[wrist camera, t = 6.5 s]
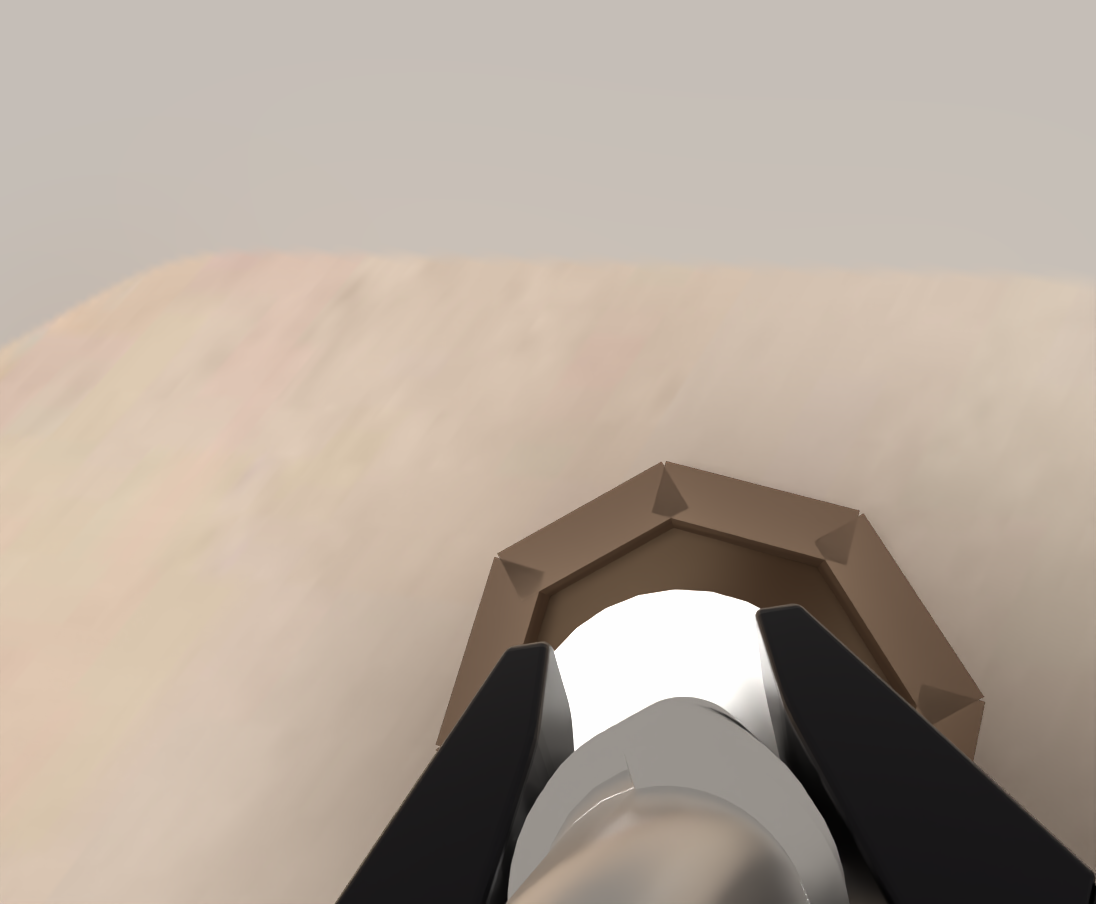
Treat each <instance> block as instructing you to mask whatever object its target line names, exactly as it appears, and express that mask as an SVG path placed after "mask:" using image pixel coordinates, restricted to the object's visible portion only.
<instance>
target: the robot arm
mask: <svg viewBox="0 0 1096 904" xmlns="http://www.w3.org/2000/svg"><path fill="white" fill-rule="evenodd" d="M754 617H755V628H756V635H757V642H758V650H759V657H760V664H761V671H762V678H763V684H764V689H765V694H766V699H767V704H768V708H769V713H770V717H771V722H772V726H773V731H774V735H775V740H776V744H777V749H778V753H779V758H780V760H781V761H782V762H783V763H784V764H785V765H786V766H787V767H788V768H789V769H790V771H791V772H792V773H793V774H794V776H795V777H796V778H797V779H798V780H799V782H800V783H801V784H802V786H803V787H804V789H805V791H806V792H807V794H808V796H809V797H810V798H811V800H812V801H813V803H814V804H815V806H816V808H817V809H818V811H819V812H820V814H821V815H822V817H823V819H824V820H825V822H826V825H827V827H828V829H829V831H830V833H831V835H832V838H833V840H834V842H835V844H836V847H837V851H838V854H839V857H840V861H841V864H842V867H843V871H844V877H845V884H846V889H847V893H848V898H849V903H850V904H1096V874H1095V873H1094V871H1093V870H1091V869H1090V868H1089V867H1088V866H1087V865H1086V864H1085V863H1084V862H1083V861H1082V860H1080V859H1079V858H1078V857H1077V856H1076V855H1075V854H1074V853H1073V852H1072V851H1071V850H1070V849H1068V848H1067V847H1066V846H1065V845H1064V844H1063V843H1062V842H1061V841H1060V840H1059V839H1057V838H1056V837H1055V836H1054V835H1053V834H1052V833H1051V832H1050V831H1049V830H1048V829H1046V828H1045V827H1044V826H1043V825H1042V824H1041V823H1040V822H1039V821H1038V820H1037V819H1035V818H1034V817H1033V816H1032V815H1031V814H1030V813H1029V812H1028V811H1027V810H1026V809H1024V808H1023V807H1022V806H1021V805H1020V804H1019V803H1018V802H1017V801H1016V800H1015V799H1014V798H1012V797H1011V796H1010V795H1009V794H1008V793H1007V792H1006V791H1005V790H1004V789H1003V788H1001V787H1000V786H999V785H998V784H997V783H996V782H995V781H994V780H993V779H992V778H990V777H989V776H988V775H987V774H986V773H985V772H984V771H983V770H982V769H981V768H979V767H978V766H977V765H976V764H975V763H974V762H973V761H972V760H971V759H970V758H968V757H967V756H966V755H965V754H964V753H963V752H962V751H961V750H960V749H959V748H958V747H956V746H955V745H954V744H953V743H952V742H951V741H950V740H949V739H948V738H947V737H945V736H944V735H943V734H942V733H941V732H940V731H939V730H938V729H937V728H936V727H934V726H933V725H932V724H931V723H930V722H929V721H928V720H927V719H926V718H925V717H923V716H922V715H921V714H920V713H919V712H918V711H917V710H916V709H915V708H914V707H912V706H911V705H910V704H909V703H908V702H907V701H906V700H905V699H904V698H903V697H902V696H900V695H899V694H898V693H897V692H896V691H895V690H894V689H893V688H892V687H891V686H889V685H888V684H887V683H886V682H885V681H884V680H883V679H882V678H881V677H880V676H878V675H877V674H876V673H875V672H874V671H873V670H872V669H871V668H870V667H869V666H867V665H866V664H865V663H864V662H863V661H862V660H861V659H860V658H859V657H858V656H856V655H855V654H854V653H853V652H852V651H851V650H850V649H849V648H848V647H847V646H846V645H844V644H843V643H842V642H841V641H840V640H839V639H838V638H837V637H836V636H835V635H833V634H832V633H831V632H830V631H829V630H828V629H827V628H826V627H825V626H824V625H822V624H821V623H820V622H819V621H818V620H817V619H816V618H815V617H814V616H813V615H811V614H810V613H809V612H808V611H807V610H806V609H805V608H804V607H802V606H801V605H798V604H787V605H780V606H774V607H767V608H761V609H759V610H757V611H756V613H755V616H754ZM574 751H575V750H574V735H573V723H572V715H571V710H570V705H569V701H568V697H567V694H566V690H565V687H564V684H563V680H562V677H561V673H560V670H559V666H558V663H557V660H556V656H555V653H554V650H553V648H552V646H551V645H550V644H549V643H547V642H535V643H529V644H522V645H516V646H512V647H509V648H508V649H507V650H505V652H504V653H503V654H502V656H501V657H500V659H499V660H498V662H497V663H496V665H495V666H494V668H493V669H492V671H491V672H490V674H489V675H488V677H487V678H486V679H485V681H484V682H483V684H482V685H481V687H480V688H479V690H478V691H477V693H476V694H475V696H474V697H473V699H472V700H471V702H470V703H469V705H468V706H467V708H466V709H465V711H464V712H463V714H462V715H461V717H460V718H459V720H458V721H457V723H456V724H455V726H454V727H453V729H452V730H451V732H450V733H449V735H448V736H447V738H446V739H445V740H444V742H443V743H442V745H441V746H440V748H439V749H438V751H437V752H436V754H435V755H434V757H433V758H432V760H431V761H430V763H429V764H428V766H427V767H426V769H425V770H424V772H423V773H422V775H421V776H420V778H419V779H418V781H417V782H416V784H415V785H414V787H413V788H412V790H411V791H410V793H409V794H408V796H407V797H406V799H405V800H404V801H403V803H402V804H401V806H400V807H399V809H398V810H397V812H396V813H395V815H394V816H393V818H392V819H391V821H390V822H389V824H388V825H387V827H386V828H385V830H384V831H383V833H382V834H381V836H380V837H379V839H378V840H377V842H376V843H375V845H374V846H373V848H372V849H371V851H370V852H369V854H368V855H367V857H366V858H365V859H364V861H363V862H362V864H361V865H360V867H359V868H358V870H357V871H356V873H355V874H354V876H353V877H352V879H351V880H350V882H349V883H348V885H347V886H346V888H345V889H344V891H343V892H342V894H341V895H340V897H339V898H338V900H337V901H336V903H335V904H506V902H507V901H508V886H509V877H510V869H511V863H512V859H513V855H514V851H515V847H516V844H517V840H518V837H519V835H520V832H521V830H522V827H523V825H524V822H525V820H526V818H527V815H528V814H529V812H530V810H531V808H532V807H533V805H534V803H535V802H536V800H537V798H538V796H539V795H540V793H541V792H542V791H543V789H544V788H545V786H546V784H547V782H548V781H549V780H550V778H551V777H552V776H553V774H554V773H555V772H556V770H557V769H558V768H559V766H560V765H561V764H562V763H563V762H564V761H565V760H566V759H567V758H568V757H569V756H570V755H571V754H572V753H573V752H574Z"/></svg>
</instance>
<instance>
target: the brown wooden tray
mask: <svg viewBox="0 0 1096 904" xmlns="http://www.w3.org/2000/svg"><path fill="white" fill-rule="evenodd" d="M858 515H859V510H855V509H851V508H847V507H843V506H839V505H835V504H831V503H828V502H824V501H820V500H816V499H812V498H808V497H804V496H800V495H796V494H792V493H789V492H785V491H781V490H777V489H773V488H769V487H765V486H761V485H757V484H753V483H749V482H746V481H742V480H738V479H734V478H730V477H726V476H722V475H718V474H714V473H710V472H707V471H703V470H699V469H695V468H691V467H687V466H683V465H679V464H675V463H671V462H667V461H666V463H665V467H664V465H663V463H662V462H660V463H658V464H657V465H655V466H653V467H651V468H649V469H648V470H646V471H644V472H642V473H640V474H639V475H637V476H635V477H633V478H632V479H630V480H628V481H626V482H624V483H623V484H621V485H619V486H617V487H615V488H614V489H612V490H610V491H608V492H607V493H605V494H603V495H601V496H599V497H598V498H596V499H594V500H592V501H590V502H589V503H587V504H585V505H583V506H582V507H580V508H578V509H576V510H574V511H573V512H571V513H569V514H567V515H565V516H564V517H562V518H560V519H558V520H556V521H555V522H553V523H551V524H549V525H548V526H546V527H544V528H542V529H540V530H539V531H537V532H535V533H533V534H531V535H530V536H528V537H526V538H524V539H523V540H521V541H519V542H517V543H515V544H514V545H512V546H510V547H508V548H506V549H505V550H503V551H501V552H499V553H497V554H498V556H499V558H500V559H499V558H496V557H494V561H493V564H492V567H491V570H490V573H489V576H488V580H487V583H486V586H485V589H484V592H483V596H482V599H481V602H480V605H479V608H478V612H477V615H476V618H475V621H474V624H473V627H472V631H471V634H470V637H469V640H468V643H467V647H466V650H465V653H464V656H463V659H462V663H461V666H460V669H459V672H458V675H457V679H456V682H455V685H454V688H453V691H452V694H451V698H450V701H449V704H448V707H447V710H446V714H445V717H444V720H443V723H442V726H441V730H440V733H439V736H438V739H437V742H436V745H438V746H441V745H442V743H443V742H444V740H445V739H446V738H447V736H448V735H449V733H450V732H451V730H452V729H453V727H454V726H455V724H456V723H457V721H458V720H459V718H460V717H461V715H462V714H463V712H464V711H465V709H466V708H467V706H468V705H469V703H470V702H471V700H472V699H473V697H474V696H475V694H476V693H477V691H478V690H479V688H480V687H481V685H482V684H483V682H484V681H485V679H486V678H487V677H488V675H489V674H490V672H491V671H492V669H493V668H494V666H495V665H496V663H497V662H498V660H499V659H500V657H501V656H502V654H503V653H504V652H505V650H507V649H508V648H509V647H512V646H516V645H522V644H529V643H535V642H547V643H549V644H550V645H551V646H552V648H553V650H554V652H555V651H556V650H557V649H558V648H559V646H560V645H561V644H562V643H563V642H564V641H565V640H566V639H567V638H568V637H569V636H570V635H571V634H572V633H573V632H574V631H575V630H576V629H577V628H578V627H580V626H581V625H582V624H584V623H585V622H587V621H588V620H590V619H591V618H593V617H594V616H596V615H597V614H599V613H600V612H602V611H603V610H605V609H606V608H609V607H611V606H614V605H616V604H619V603H621V602H624V601H626V600H629V599H631V598H634V597H636V596H639V595H645V594H651V593H658V592H664V591H670V590H687V591H704V592H713V593H717V594H720V595H724V596H727V597H731V598H735V599H738V600H742V601H745V602H748V603H750V604H752V605H754V606H756V607H758V608H760V609H761V608H767V607H774V606H780V605H787V604H798V605H801V606H802V607H804V608H805V609H806V610H807V611H808V612H809V613H810V614H811V615H813V616H814V617H815V618H816V619H817V620H818V621H819V622H820V623H821V624H822V625H824V626H825V627H826V628H827V629H828V630H829V631H830V632H831V633H832V634H833V635H835V636H836V637H837V638H838V639H839V640H840V641H841V642H842V643H843V644H844V645H846V646H847V647H848V648H849V649H850V650H851V651H852V652H853V653H854V654H855V655H856V656H858V657H859V658H860V659H861V660H862V661H863V662H864V663H865V664H866V665H867V666H869V667H870V668H871V669H872V670H873V671H874V672H875V673H876V674H877V675H878V676H880V677H881V678H882V679H883V680H884V681H885V682H886V683H887V684H888V685H889V686H891V687H892V688H893V689H894V690H895V691H896V692H897V693H898V694H899V695H900V696H902V697H903V698H904V699H905V700H906V701H907V702H908V703H909V704H910V705H911V706H912V707H914V708H915V709H916V710H917V711H918V712H919V713H920V714H921V715H922V716H923V717H925V718H926V719H927V720H928V721H929V722H930V723H931V724H932V725H933V726H934V727H936V728H937V729H938V730H939V731H940V732H941V733H942V734H943V735H944V736H945V737H947V738H948V739H949V740H950V741H951V742H952V743H953V744H954V745H955V746H956V747H958V748H959V749H960V750H961V751H962V752H963V753H964V754H965V755H966V756H967V757H968V758H970V759H971V760H972V761H973V759H974V754H975V749H976V744H977V739H978V734H979V729H980V724H981V720H982V715H983V710H984V705H985V702H983V701H980V700H979V699H981V698H983V697H984V696H983V695H982V693H981V692H980V690H979V689H978V687H977V685H976V684H975V682H974V681H973V679H972V678H971V676H970V675H969V673H968V672H967V670H966V669H965V667H964V666H963V664H962V663H961V661H960V660H959V658H958V657H957V655H956V653H955V652H954V650H953V649H952V647H951V646H950V644H949V643H948V641H947V640H946V638H945V637H944V635H943V634H942V632H941V631H940V629H939V628H938V626H937V625H936V623H935V622H934V620H933V618H932V617H931V615H930V614H929V612H928V611H927V609H926V608H925V606H924V605H923V603H922V602H921V600H920V599H919V597H918V596H917V594H916V593H915V591H914V590H913V588H912V587H911V585H910V583H909V582H908V580H907V579H906V577H905V576H904V574H903V573H902V571H901V570H900V568H899V567H898V565H897V564H896V562H895V561H894V559H893V558H892V556H891V555H890V553H889V551H888V550H887V548H886V547H885V545H884V544H883V542H882V541H881V539H880V538H879V536H878V535H877V533H876V532H875V530H874V529H873V527H872V526H871V524H870V523H869V521H868V520H867V518H866V516H865V515H864V514H862V515H860V516H858ZM438 749H439V748H438ZM438 749H436V750H437V751H438Z"/></svg>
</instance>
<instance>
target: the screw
mask: <svg viewBox="0 0 1096 904" xmlns="http://www.w3.org/2000/svg"><path fill="white" fill-rule="evenodd" d="M759 609H760V608H758V607H756V606H754V605H752V604H750V603H748V602H745V601H742V600H738V599H735V598H731V597H727V596H724V595H720V594H717V593H713V592H704V591H687V590H670V591H664V592H658V593H651V594H645V595H639V596H636V597H634V598H631V599H629V600H626V601H624V602H621V603H619V604H616V605H614V606H611V607H609V608H606V609H605V610H603V611H602V612H600V613H599V614H597V615H596V616H594V617H593V618H591V619H590V620H588V621H587V622H585V623H584V624H582V625H581V626H580V627H578V628H577V629H576V630H575V631H574V632H573V633H572V634H571V635H570V636H569V637H568V638H567V639H566V640H565V641H564V642H563V643H562V644H561V645H560V646H559V648H558V649H557V650H556V651H555V652H554V653H555V656H556V660H557V663H558V666H559V670H560V673H561V677H562V680H563V684H564V687H565V690H566V694H567V697H568V701H569V705H570V710H571V715H572V723H573V735H574V750H575V751H574V752H573V753H572V754H571V755H570V756H569V757H568V758H567V759H566V760H565V761H564V762H563V763H562V764H561V765H560V766H559V768H558V769H557V770H556V772H555V773H554V774H553V776H552V777H551V778H550V780H549V781H548V782H547V784H546V786H545V788H544V789H543V791H542V792H541V793H540V795H539V796H538V798H537V800H536V802H535V803H534V805H533V807H532V808H531V810H530V812H529V814H528V815H527V818H526V820H525V822H524V825H523V827H522V830H521V832H520V835H519V837H518V840H517V844H516V847H515V851H514V855H513V859H512V863H511V869H510V877H509V886H508V901H507V902H506V904H850V903H849V898H848V893H847V889H846V884H845V877H844V871H843V867H842V864H841V861H840V857H839V854H838V851H837V847H836V844H835V842H834V840H833V838H832V835H831V833H830V831H829V829H828V827H827V825H826V822H825V820H824V819H823V817H822V815H821V814H820V812H819V811H818V809H817V808H816V806H815V804H814V803H813V801H812V800H811V798H810V797H809V796H808V794H807V792H806V791H805V789H804V787H803V786H802V784H801V783H800V782H799V780H798V779H797V778H796V777H795V776H794V774H793V773H792V772H791V771H790V769H789V768H788V767H787V766H786V765H785V764H784V763H783V762H782V761H781V760H780V758H779V753H778V749H777V744H776V740H775V735H774V731H773V726H772V722H771V717H770V713H769V708H768V704H767V699H766V694H765V689H764V684H763V678H762V671H761V664H760V657H759V650H758V642H757V635H756V628H755V617H754V616H755V613H756V611H757V610H759Z"/></svg>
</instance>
